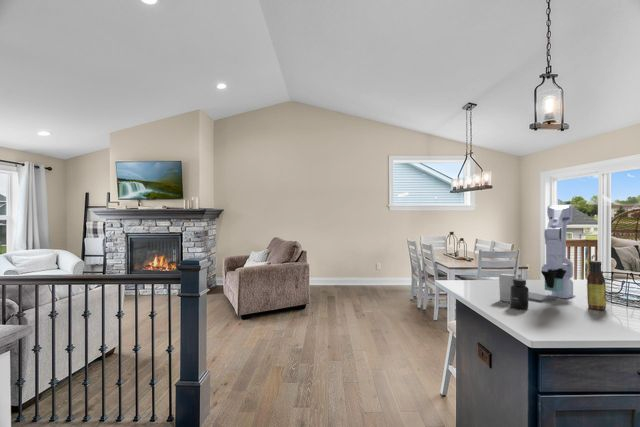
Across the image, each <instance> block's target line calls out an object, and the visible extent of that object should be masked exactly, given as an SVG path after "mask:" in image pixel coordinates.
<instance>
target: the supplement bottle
mask: <svg viewBox="0 0 640 427" xmlns="http://www.w3.org/2000/svg"><path fill="white" fill-rule="evenodd" d="M513 284H514V285H512V286H511V288H510V304H509V306H510V308H512V309H515V310H520V309H521V310H523V311H524V310H528V309H529V300H528V298H529V292H530V291H529V287H528V286H526V285H527V280H526V279H522V278H516V279H513Z"/></svg>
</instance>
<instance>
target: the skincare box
mask: <svg viewBox="0 0 640 427" xmlns="http://www.w3.org/2000/svg"><path fill="white" fill-rule="evenodd" d="M513 279H517V275H516V274H510V273H501V274H498V281H499V282H498V284H499V301H504V302H510V288H511V286H512V285H514V284H513Z"/></svg>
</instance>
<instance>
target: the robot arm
mask: <svg viewBox="0 0 640 427" xmlns="http://www.w3.org/2000/svg"><path fill="white" fill-rule="evenodd" d="M546 209H547V217H548V220H549V221H548V223H547V227H546V228H545V229H544V230H543V231H544V233H543V234H544V244H545V264H543V266H541V274H542V276H543V278H544V282H545V281H546V284H547V287H549V288H553V286H554V280H555V278H560V279H563V291H559V292H554V291H551V293H548V294H547V296H553V297H555V298H559V299H560V298H561V299H568V298H574V297H576V295H574V282H573V280H572V279H571V278H573V277H574V267H573V262H572V260H570V259H569V258H567V227H568V224H570V223H572V222H573V210H574V209H573V205H572V204H552V205H551V204H549V205H548V206H547V208H546Z"/></svg>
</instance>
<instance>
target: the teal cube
mask: <svg viewBox="0 0 640 427" xmlns="http://www.w3.org/2000/svg"><path fill="white" fill-rule="evenodd" d="M544 291H549V292H552V291H554V292H559V291H563V279H560V278H555V280H554V286H553V288H549V287H547V284H546V281H545V280H544Z"/></svg>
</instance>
